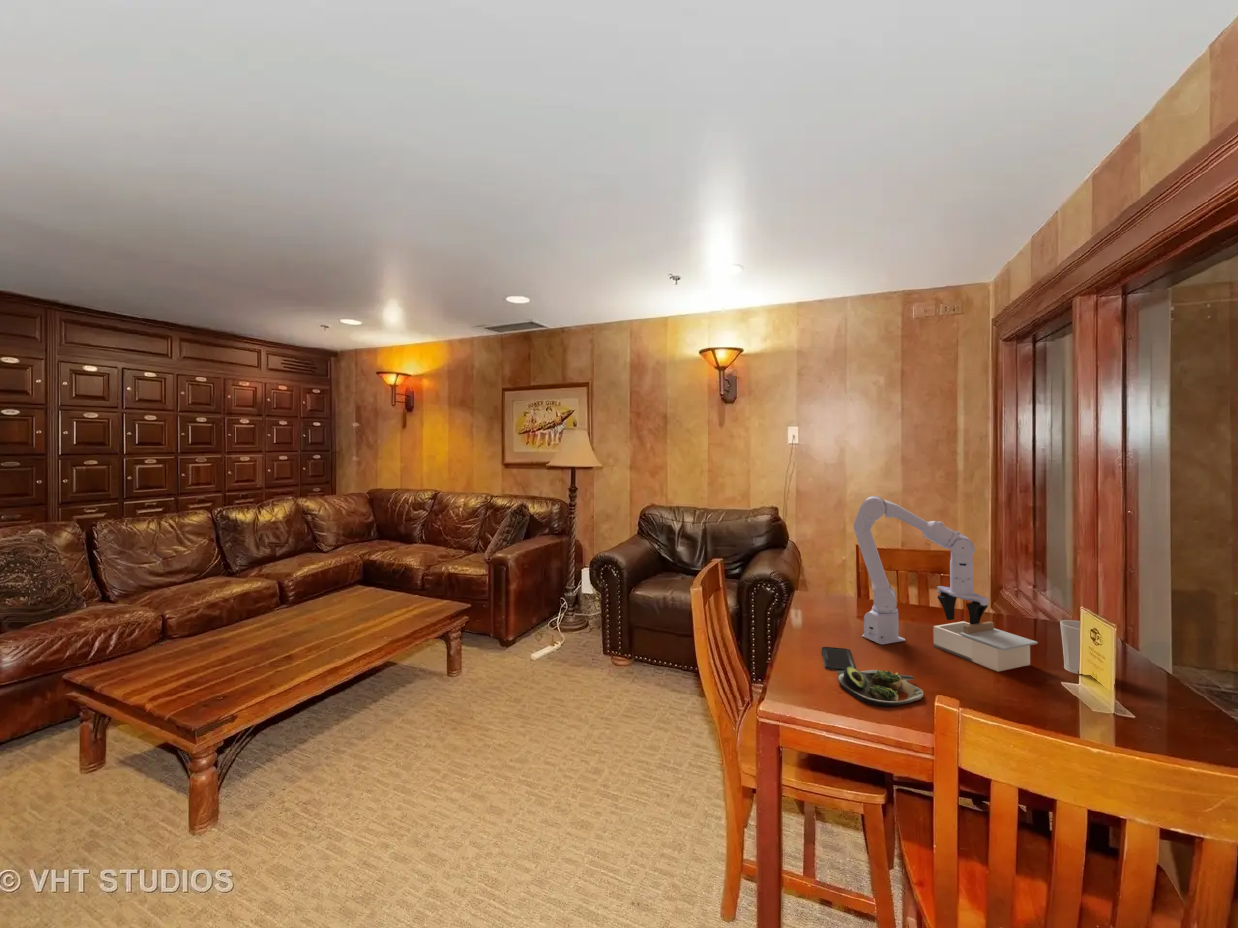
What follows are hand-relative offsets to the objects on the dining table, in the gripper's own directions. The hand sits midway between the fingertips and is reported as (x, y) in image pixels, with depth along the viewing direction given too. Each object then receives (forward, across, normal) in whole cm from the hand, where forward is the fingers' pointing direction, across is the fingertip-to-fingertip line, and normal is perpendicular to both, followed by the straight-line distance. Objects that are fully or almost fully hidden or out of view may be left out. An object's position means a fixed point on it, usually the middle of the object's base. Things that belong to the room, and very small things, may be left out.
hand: (962, 623), depth 152 cm
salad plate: (+8, -12, +43) cm, 45 cm away
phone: (+8, +6, +39) cm, 40 cm away
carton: (+7, -5, 0) cm, 9 cm away
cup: (+8, -22, -14) cm, 27 cm away
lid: (+1, -10, 0) cm, 10 cm away
